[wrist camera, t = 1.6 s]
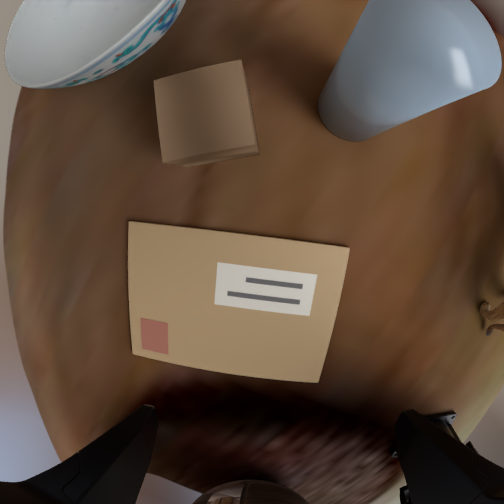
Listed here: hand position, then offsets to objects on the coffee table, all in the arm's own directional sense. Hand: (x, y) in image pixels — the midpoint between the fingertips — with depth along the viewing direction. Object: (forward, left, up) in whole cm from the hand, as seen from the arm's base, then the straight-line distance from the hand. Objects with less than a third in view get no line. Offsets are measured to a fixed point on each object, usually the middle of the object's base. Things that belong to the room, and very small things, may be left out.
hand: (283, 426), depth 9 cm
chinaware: (+15, -20, -13) cm, 28 cm away
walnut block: (+6, -11, -13) cm, 18 cm away
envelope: (+4, +2, -13) cm, 13 cm away
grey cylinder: (-3, -14, -13) cm, 19 cm away
